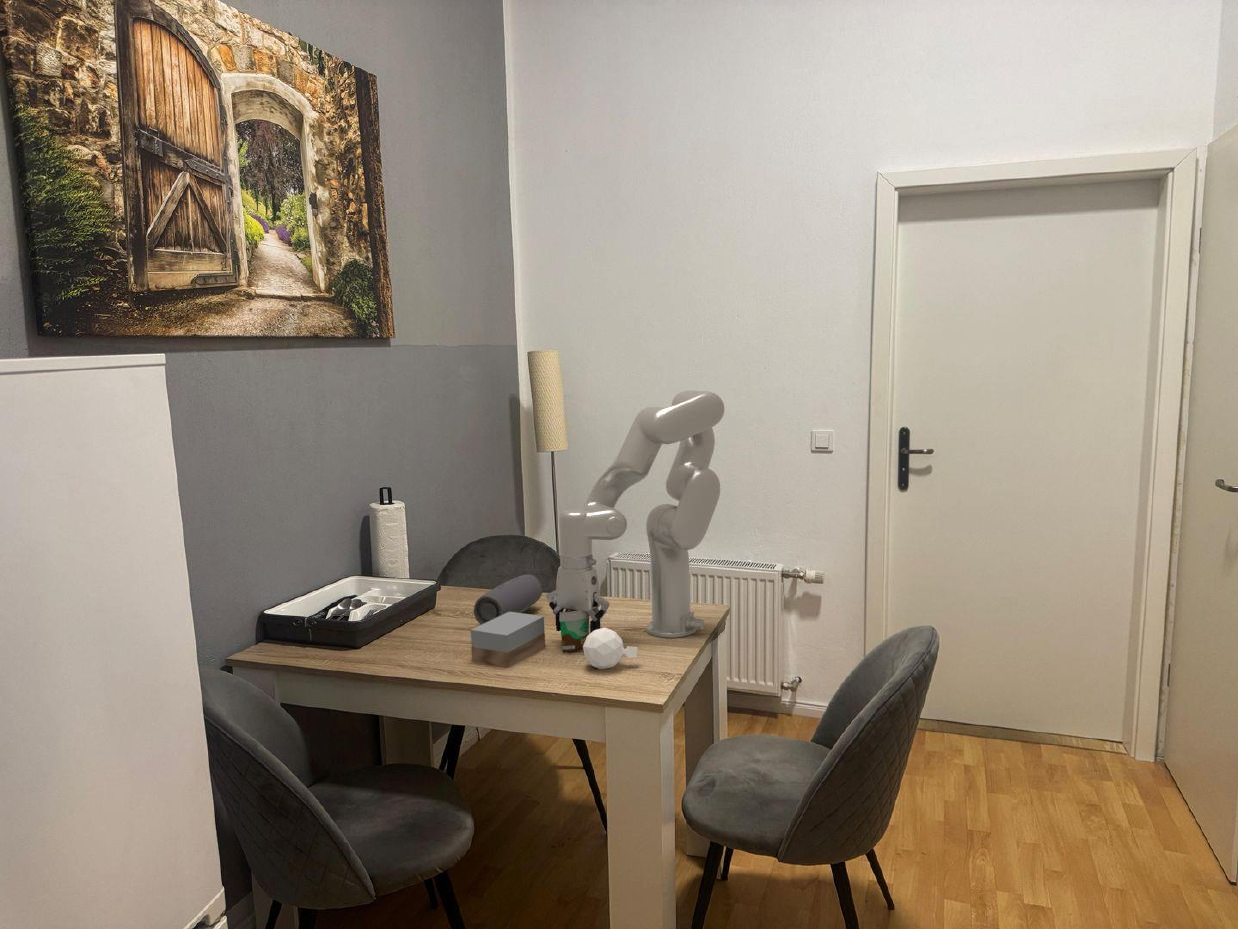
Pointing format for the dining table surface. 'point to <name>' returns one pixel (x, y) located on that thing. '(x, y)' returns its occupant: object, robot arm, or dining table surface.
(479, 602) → the bluetooth speaker
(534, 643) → the walnut slab
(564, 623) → the food container
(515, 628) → the grey slab
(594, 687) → the dining table surface
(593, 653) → the perfume bottle
